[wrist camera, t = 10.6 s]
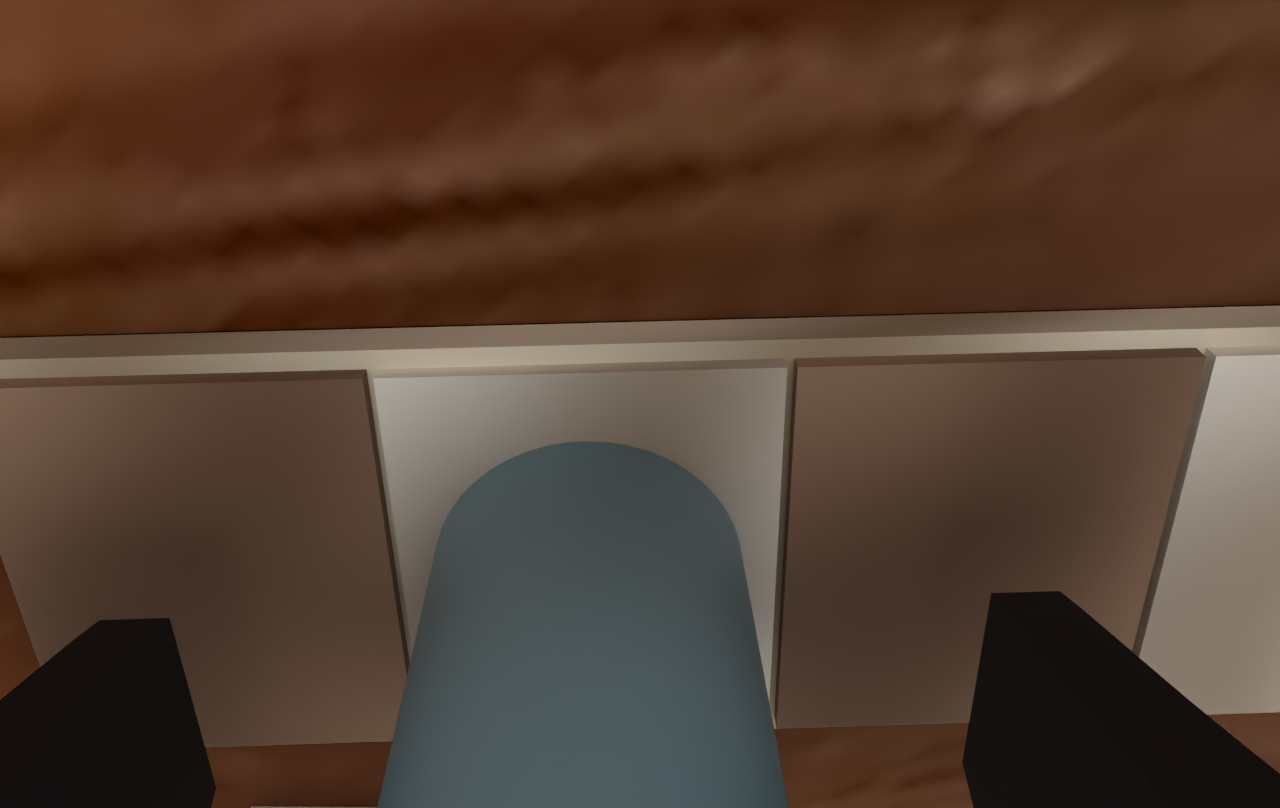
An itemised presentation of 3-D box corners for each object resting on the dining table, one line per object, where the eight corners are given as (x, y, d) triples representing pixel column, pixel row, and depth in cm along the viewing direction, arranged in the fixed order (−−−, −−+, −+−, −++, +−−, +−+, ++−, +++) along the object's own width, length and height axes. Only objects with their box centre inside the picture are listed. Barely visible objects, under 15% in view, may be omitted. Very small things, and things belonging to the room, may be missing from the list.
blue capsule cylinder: (769, 459, 11) (900, 974, 6) (713, 702, 12) (784, 1271, 8) (443, 423, 11) (310, 937, 6) (426, 677, 12) (309, 1252, 7)
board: (1576, 297, 11) (1632, 326, 11) (1418, 677, 14) (1456, 719, 13) (-32, 338, 11) (-70, 370, 10) (95, 720, 13) (70, 764, 13)
